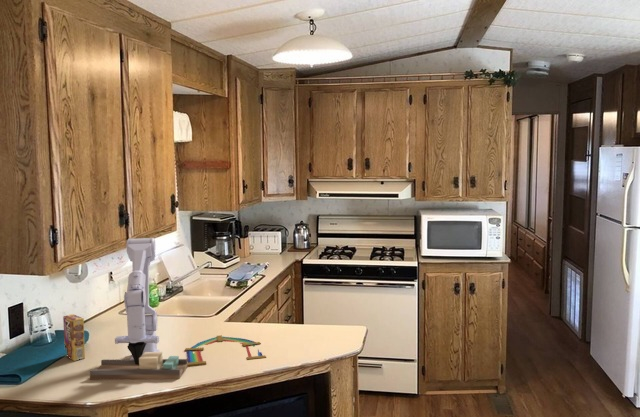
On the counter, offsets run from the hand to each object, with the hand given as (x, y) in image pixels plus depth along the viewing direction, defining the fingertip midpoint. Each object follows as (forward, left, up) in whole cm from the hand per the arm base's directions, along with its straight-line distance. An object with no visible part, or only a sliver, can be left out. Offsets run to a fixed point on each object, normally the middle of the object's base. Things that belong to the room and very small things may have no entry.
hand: (138, 363), depth 184 cm
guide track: (0, +1, -3) cm, 3 cm away
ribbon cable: (-24, +25, -4) cm, 35 cm away
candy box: (-16, -29, -4) cm, 34 cm away
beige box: (0, +4, -2) cm, 5 cm away
